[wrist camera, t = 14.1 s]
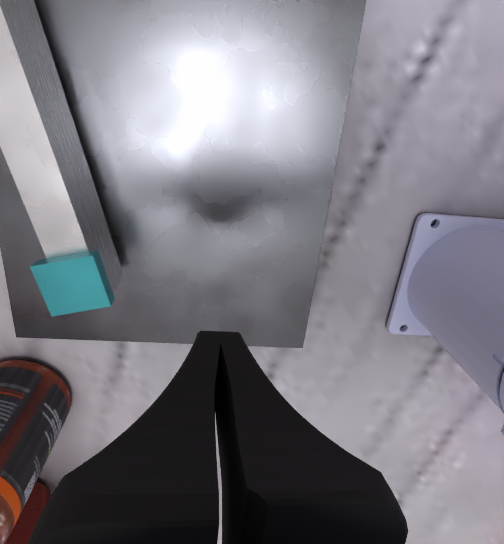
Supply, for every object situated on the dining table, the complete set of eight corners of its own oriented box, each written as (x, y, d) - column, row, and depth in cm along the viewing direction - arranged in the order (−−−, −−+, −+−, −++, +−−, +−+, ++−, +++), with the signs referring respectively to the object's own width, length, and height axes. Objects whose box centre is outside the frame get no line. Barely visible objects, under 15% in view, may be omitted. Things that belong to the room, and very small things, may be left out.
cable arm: (-43, -48, 14) (-130, -99, 11) (25, -59, 14) (-39, -113, 11) (82, 282, 20) (53, 320, 16) (131, 273, 20) (112, 310, 16)
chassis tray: (388, -163, 15) (399, -180, 14) (299, 338, 25) (302, 347, 24) (-71, -254, 13) (-92, -281, 12) (24, 327, 23) (16, 337, 22)
